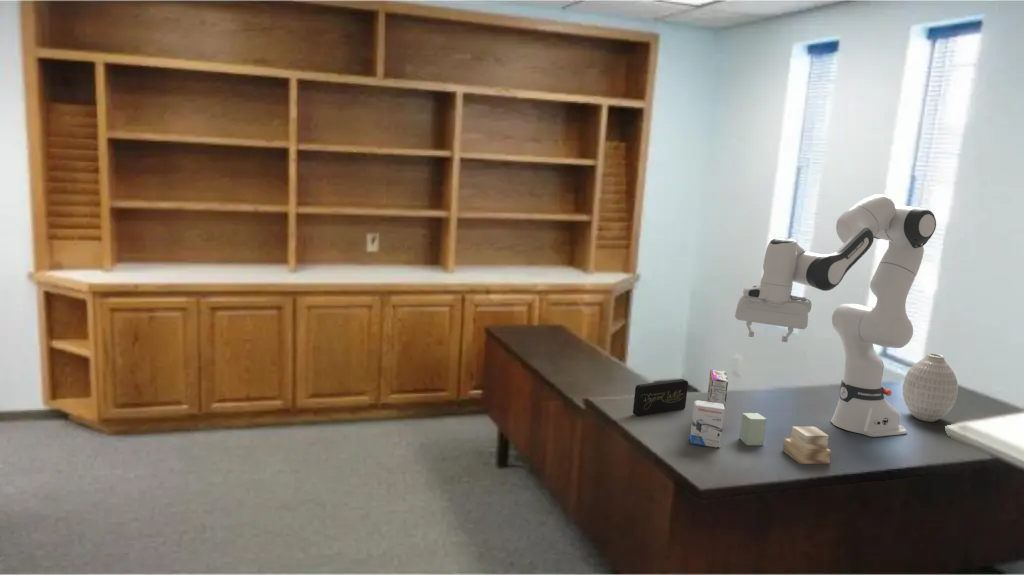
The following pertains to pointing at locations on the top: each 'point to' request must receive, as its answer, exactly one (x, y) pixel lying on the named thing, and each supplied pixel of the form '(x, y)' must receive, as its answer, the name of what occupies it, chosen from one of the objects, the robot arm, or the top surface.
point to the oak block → (806, 453)
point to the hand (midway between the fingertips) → (767, 339)
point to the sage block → (752, 428)
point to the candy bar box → (717, 387)
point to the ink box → (707, 423)
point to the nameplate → (660, 397)
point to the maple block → (809, 437)
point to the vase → (930, 388)
